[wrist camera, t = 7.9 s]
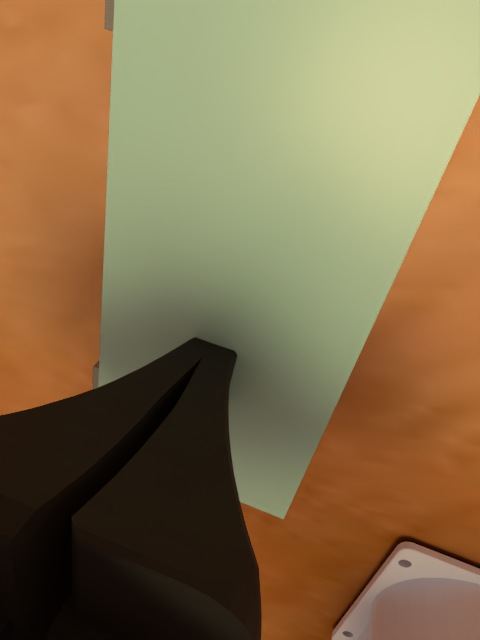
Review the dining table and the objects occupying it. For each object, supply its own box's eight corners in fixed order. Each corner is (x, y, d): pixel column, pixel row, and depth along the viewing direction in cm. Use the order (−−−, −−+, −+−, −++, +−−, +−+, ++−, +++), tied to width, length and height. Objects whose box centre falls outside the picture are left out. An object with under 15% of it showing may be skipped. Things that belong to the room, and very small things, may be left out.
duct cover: (286, 504, 14) (283, 519, 13) (105, 431, 15) (95, 443, 14) (552, -81, 6) (568, -99, 6) (139, -155, 7) (121, -175, 7)
